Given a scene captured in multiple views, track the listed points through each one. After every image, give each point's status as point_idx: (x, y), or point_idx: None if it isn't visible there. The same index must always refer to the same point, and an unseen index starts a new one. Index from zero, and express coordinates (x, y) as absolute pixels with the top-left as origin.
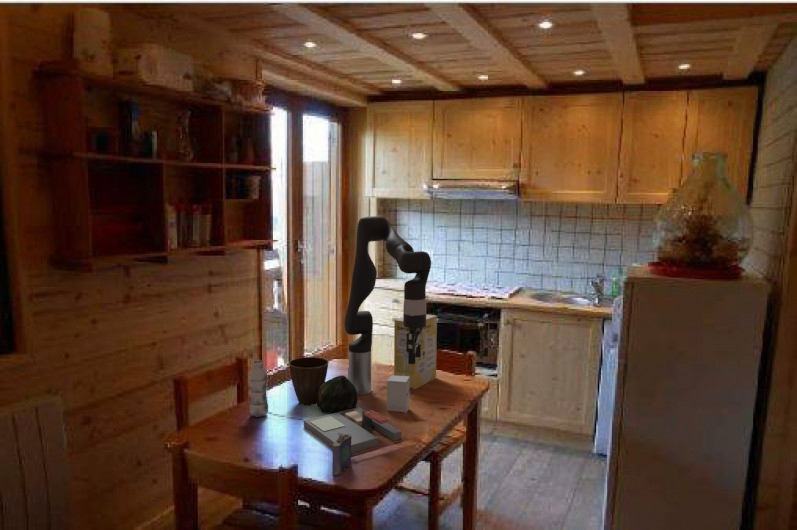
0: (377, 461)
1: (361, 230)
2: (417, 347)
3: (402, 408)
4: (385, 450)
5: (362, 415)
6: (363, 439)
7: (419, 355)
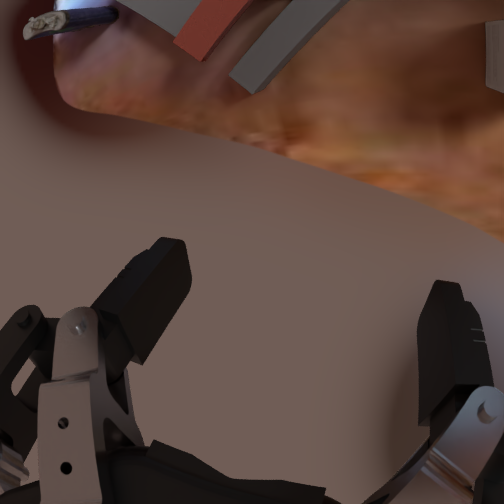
0: (141, 67)
1: None
2: (431, 400)
3: (494, 77)
4: None
5: None
6: (158, 10)
7: (418, 334)
